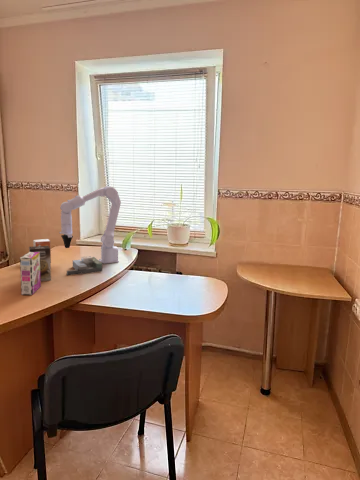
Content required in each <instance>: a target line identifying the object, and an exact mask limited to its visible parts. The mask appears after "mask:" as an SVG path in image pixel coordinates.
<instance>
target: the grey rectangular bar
mask: <svg viewBox="0 0 360 480" xmlns="http://www.w3.org/2000/svg"><path fill="white" fill-rule="evenodd" d="M72 268H73V269H74V270H77V269H79V270H83V269H87V266H86V265H85V264H84V263H83V262H82V261H81V259H74V260H72Z"/></svg>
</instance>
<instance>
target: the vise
mask: <svg viewBox="0 0 360 480" xmlns="http://www.w3.org/2000/svg"><path fill="white" fill-rule="evenodd" d="M91 257H92V258H93V268H87V269H83V270H79V269H77V270H76V269H68V270H66V275H67V276H73V275H74V276H75V275H83V274H90V273H99V272H103V263H102V262H100V261H99V260H100V259H97V257H95V256H91Z"/></svg>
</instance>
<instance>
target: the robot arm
mask: <svg viewBox="0 0 360 480" xmlns="http://www.w3.org/2000/svg"><path fill="white" fill-rule="evenodd" d="M97 197H98V198H99V197H106V198H107V199H108V200H109V202H110V203H111V205H110V210H109V213H108V218H107V222H106V226H105V230H104V232H103V235H102V236H101V237H100V242H101V243H102V244H101V246H100V249H101V250H100V255H101V256H100V259H98V260H99V261H100V262H101V263H102V265H103V264H112V263H119V249H118V247H117V245H116V246H114V244H115V239H114V237H115V228H116V224H117V221H118V216H119V212H120V208H121V204H122V202H121V198H120V195H119V193H118V190H117V189H116V188H115V187H114V186H110V185H106V186H103V187H100V188H98V189H97V188H96V190H93V191H90V192H89V193H86V195H83V196H81V195H75V196H74V197H73V198H71V199H66V201H64V202H63V201H62V203H61V204H60V206H59V207H60V211H61V212H60V227H61V228H60V230H61V231H59V234H61V235H60V237H61V238H62V240H63V246H64V248H65V249H69V248H70V246H71V243H72V239H73V237H74V236H73V216H72V211H75V210H76V209H79V208H80V207H83V206H85V204H86V202H88V201H91V200H94V199H95V198H97Z"/></svg>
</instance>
